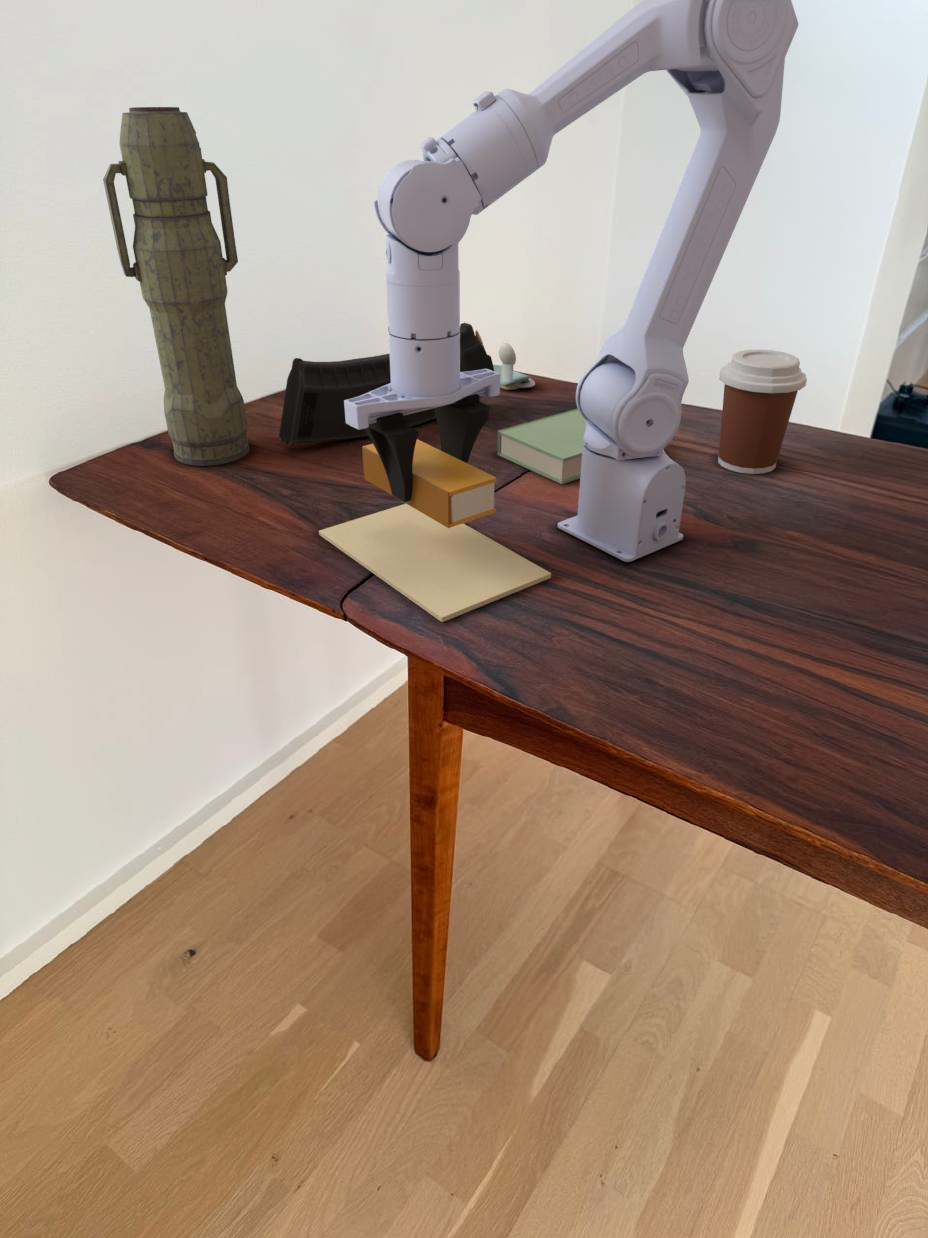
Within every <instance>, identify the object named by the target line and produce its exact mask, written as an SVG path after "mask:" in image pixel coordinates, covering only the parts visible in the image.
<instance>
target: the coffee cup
mask: <svg viewBox="0 0 928 1238" xmlns="http://www.w3.org/2000/svg"><path fill="white" fill-rule="evenodd" d="M800 365H801V361H800V359H799V358H798V357H797V356H796V355H793V354H791V353H788V352H784V351H779V350H773V349H745V350H739V351H737V352H735V353H733V354H732V356H731V361H730V362H728V363H727V364H726V365H724V366H723V367H721V368H720V370H719V375H718V376H719V378H718V380H719V381H721V382H722V383H723V385H724V387H723V399H722V412H721V424H720V435H719V449H718V456H717V463H718V464H719V465H720V466H721V467H722V468H724V469H726V470H729V471H732V472H736V473H741V474H748V475H757V474H758V475H759V474H766V473H770V472H772V471H773V470H775V469H776V466H777V462H778V458H779V455H780V452H781V449H782V446H783V442H784V438H785V436H786V433H787V428H788V425H789V422H790V419H791V415H792V412H793V409H794V405H795V403H796V402H795V401H796V398H797V395H798V392H799V391H801V390H802V389H804V388H805V387H806V386H807V382H808V378H807V374H806V373H805V372H803V371H802V369H801V368H800Z"/></svg>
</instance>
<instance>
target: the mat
mask: <svg viewBox="0 0 928 1238" xmlns="http://www.w3.org/2000/svg"><path fill="white" fill-rule="evenodd" d="M318 534H319V536H320V537H321V538H323V539H324V540H325V541H327V542H328V543H330V544H331V545H333V546H334V547H335V548H337V549H338V550H339V551H341V552H342V553H344V554H345V555H347V556H348V557H349V558H350V559H352V560H354V561H355V562H356V563H358V564H359V565H361V566H362V567H363V568H365V570H368V571H369V572H371V573H372V574H374V575H375V576H376V577H377V578H379V579H381V580H382V581H383V582H384V583H386V584H387V585H389V586H390V587H392V588H393V589H394V590H396V591H397V592H399V594H401V595H403V596H404V597H405V598H407V599H408V600H410V601H411V602H413V603H414V604H415V605H416V606H418V607H419V608H421V609H422V610H424V611H425V612H426V613H428V614H430V615H431V616H432V617H433V618H435V619H436V620H438V621H439V622H441V623H444V622H447V621H449V620H452V619H454V618H457V617H459V616H461V615H464V614H466V613H468V612H472V611H474V610H476V609H478V608H481V607H484V606H486V605H488V604H491V603H493V602H495V601H498V600H500V599H503V598H506V597H507V596H510V595H512V594H515V593H517V592H520V591H523V590H525V589H527V588H530V587H532V586H535V585H538V584H539V583H542V582H545V581H547V580H549V579H551V578H552V573H551V571H548V570H547V569H545V568H543V567H541V566H539V565H538V564H536V563H534V562H532V561H530V560H529V559H527V558H526V557H524V556H521V554H519V553H517V552H515V551H512V550H511V549H509V548H508V547H505V546H504V545H502V544H500V543H498V542H497V541H496V540H493V539H492V538H490V537H488V536H486V535H485V534H483V533H482V532H480V531H478V530H475V529H474V528H472V527H470V526H469V525H466V524H465V523H463V524H460V525H457V526H454V527H451V528H447V527H445V526H444V525H442V524H440V523H439V522H437V521H435V520H433V519H432V518H430V517H428V516H427V515H425V514H423V513H421V512H420V511H418V510H416V509H415V508H413V507H411V506H409V505H408V504H406V503H403V504H400V505H397V506H393V507H390V508H388V509H385V510H380V511H377V512H375V513H371V514H368V515H365V516H362V517H358V518H355V519H352V520H348V521H346V522H343V523H339V524H336V525H333V526H330V527H326V528H323V529H319V530H318Z"/></svg>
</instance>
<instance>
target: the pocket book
mask: <svg viewBox="0 0 928 1238" xmlns="http://www.w3.org/2000/svg"><path fill="white" fill-rule="evenodd" d="M361 449H362V450H361V451H362V465H363V479H364V480H365V481H367V482H368V483H370V484H372V485H374V486H375V487H376V488H379V489H380V490H382V491H384V492H386V493H387V494H389V495H390V496H392V497H394V498H396V497H395V496H393V495H392V492H391V488H390V484H389V481H388V477H387V474H386V471H385V469H384V466H383V463H382V461H381V459H380V456H379V454H378V452H377V450H376V448H375V446H374V444H373V443H370V444H366V445H362V446H361ZM412 474H413V489H412V497H411V500H410V501H407V502H403V501H402V500H400V499H398V500H399V501H400V502H403V504H408V505H409V506H411V507H413V508H415V509H416V510H418V511H420V512H421V513H423V514H425V515H427V516H428V517H430V518H432V519H433V520H435V521H437V522H439V523H440V524H442V525H444V526H445V527H447V528H451V527H454V526H457V525H460V524H465V523H468V522H471V521H474V520H477V519H481V518H483V517H486V516H489V515H492V514H495V513H496V511H497V509H496V507H495V483H496V482H497V477H496V476H493V475H491V474H490V473H488V472H486V471H484V470H482V469H479V468H478V467H475V466H474V465H471V464H469V463H465V462H463V461H461V460H459V459H457V458H455V457H453V456H451V455H449V454H447V453H445V452H443V451H441V449H438V448H437V447H434V446H432V445H431V444H428V443H426V442H424V441H422V440H420V439H418V438H417V440H416V445H415V449H414V456H413V465H412Z"/></svg>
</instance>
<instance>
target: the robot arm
mask: <svg viewBox="0 0 928 1238" xmlns="http://www.w3.org/2000/svg"><path fill="white" fill-rule="evenodd" d="M798 27H799V21H798V17H797V14H796V11H795V8H794V5H793V1H792V0H641V1H639V3H637V4H636V5H635V6H634V7H632V8H631V9H630V10H628V11H627V12H626V13H624V14H623V15H622V16H621V17H620V18H619V19H618V20H616V21H615V22H614V23H612V25H610V26H609V27H608V28H607V29H606V30H604V31H603V32H602V33H600V34H599V35H598V36H597V37H595V38H594V39H593V40H592V41H591V42H589V43H588V44H587V45H586V46H584V48H583V49H581V50H580V51H578V52H577V54H575V55H574V56H572V58H570V59H568V61H567V62H565V63H564V64H563V65H562V66H560V68H558V69H557V70H556V71H555V72H553V73H552V74H551V75H550V76H549V77H548V78H546V79H545V80H544V81H542V82H541V83H540V84H539V85H537V87H535V88H534V89H533V90H532V91H531V92H529V93H528V94H527V93H523V92H520V91H517V90H515V89H510V88H504V89H502V90H500V92H498V93H496V94H494V92H492V91H483V92H482V93H481V94H479V95H478V96H477V97H475V98H474V99H473V100H472V105H473V107H474V109H475V110H474V112H471V114H469V115H468V116H466V117H465V118H463V120H461V121H459V123H457V124H456V125H454V126H453V127H452V128H451V129H449V130H448V131H447V132H445V133H444V134H443V135H442V136H441V137H440V138H438V139H435V138H434V137H431V136H429V137H427V138H425V139H424V141H422V142H421V143H420V144H419V148H420V150H421V153H422V157H423V159H422V160H420V159H407V160H404V161H401V162H399V163H397V164H396V165H394V166H393V167H391V168H390V169H389V170H388V171H387V173H386V174H385V175H384V176H383V178H382V183H381V185H379V188H378V192H377V199H376V200H374V202H373V205H374V210H375V214H376V217H377V220H378V222H379V224H380V226H381V227H382V229H383V230H384V231H385V232H386V233H387V234H386V235H385V245H386V247H385V257H386V270H385V289H386V305H387V306H386V312H387V330H388V351H389V353H388V354H390V376H391V383H389V384H387V385H384V386H382V387H380V388H377V389H375V390H373V391H370V392H368V393H366V394H363V395H361V396H358V397H355V398H351V399H347V400H344V407H345V420H346V424H348V425H350V426H352V427H354V428H356V429H358V430H361V429H364V430H365V431H366V433H367V434H368V438H369V439H370V441H371V444H374V446H375V448H376V450H377V452H378V454H379V456H380V459H381V461H382V463H383V466H384V469H385V471H386V474H387V477H388V481H389V484H390V488H391V492H392V495H393V496H392V495H391V496H392V497H394V496H395V497H394V498H395V499H398V500H399V499H400V500H399V501H401V500H402V501H401V502H402V503H404V502H407V501H410V500H411V497H412V489H413V474H412V465H413V456H414V449H415V445H416V440H417V439H418V437H419V433H420V431H419V430H417V429H415V428H413V427H409V426H407V421H406V420H405V421H404V420H403V416H404V415H408V414H412V413H416V412H420V411H424V410H428V409H433V408H434V410H435V414H436V424H437V428H438V433H439V434H438V435H439V442H440V444H439V445H440V450H441V451H443V452H445V453H447V454H449V455H451V456H453V457H455V458H457V459H459V460H461V461H463V462H465V463H467V464H469V460H470V456H471V453H472V450H473V447H474V445H475V443H476V440H477V438H478V436H479V434H480V433H481V430H482V429H483V427H484V426H485V424H486V422H487V421H488V420H489V418H490V406H489V405H488V404H486V403H484V402H481V400H480V399H481V398H483V397H485V396H486V397H488V398H493V397H494V398H495V397H498V396H500V395H501V387H500V373H497V372H494V371H492V370H489V369H481V370H475V371H467V372H460V324H461V278H460V277H461V273H460V268H459V244H460V242H461V241H462V239H463V238H464V236H465V235H466V232H467V231H468V228H469V226H470V222H471V218H472V215H474V216H477V215H479V214H480V213H482V212H483V211H484V210H486V209H487V208H488V207H490V206H491V205H492V204H494V203H495V202H496V201H498V200H499V199H500V198H502V197H504V195H506V194H507V193H508V192H510V191H511V190H513V189H514V188H515V187H516V186H518V185H519V184H521V183H522V182H523V181H524V180H526V179H527V178H528V177H530V176H531V175H532V174H534V173H535V172H537V170H539V169H541V168H542V167H543V166H544V165H545V164H546V163H547V160H548V158H549V154H550V149H551V145H552V141H553V139H554V137H555V135H556V134H558V133H559V132H561V131H562V130H564V129H565V128H566V127H568V126H570V125H571V124H572V123H574V122H576V121H577V120H578V119H580V118H581V117H583V116H584V115H585V114H587V113H588V112H590V111H592V110H594V108H596V107H597V106H599V105H600V104H602V103H603V102H605V101H606V100H608V99H609V98H610V97H612V96H613V95H615V94H616V93H618V92H619V91H621V90H622V89H623V88H625V87H627V86H628V85H629V84H631V83H632V82H634V81H635V80H637V79H638V78H640V77H641V76H642V75H645V74H646V73H649V72H657V71H658V72H659V71H666V72H667V73H668V74H669V76H670V77H671V78H672V79H673V80H674V82H675V84H677V86H678V87H679V88H680V89H681V90H682V91H683V93H684V94H685V95H686V97H687V98H688V100H689V102H690V105H691V108H692V110H693V113H694V116H695V119H696V121H697V124H698V126H699V128H700V129H699V130H700V133H699V136H698V138H697V141H696V143H695V145H694V149H693V151H692V153H691V156H690V159H689V161H688V164H687V166H686V168H685V171H684V174H683V176H682V179H681V181H680V184H679V186H678V189H677V191H676V194H675V197H674V198H673V201H672V204H671V207H670V209H669V212H668V214H667V217H666V219H665V222H664V224H663V227H662V229H661V231H660V235H659V237H658V240H657V243H656V245H655V247H654V249H653V252H652V255H651V257H650V260H649V263H648V264H647V267H646V270H645V273H644V275H643V277H642V279H641V283H640V286H639V287H638V291H637V293H636V295H635V298H634V300H633V302H632V305H631V307H630V311H629V313H628V315H627V318H626V321H625V323H624V325H623V327H622V328H620V329H619V330H618V331H616V332H615V333H613V334H612V335H611V336H610V337H608V339H606V340H605V341H604V342H603V344H602V347H601V349H600V352H599V354H598V356H597V357H596V359H595V361H594V362H593V363H592V364H591V365H590V366H589V367H588V368H587V369H586V370H585V371H584V373H583V374H582V375H581V377H580V379H579V380H578V383H577V385H576V390H575V404H576V409H577V408H578V410H579V412H580V414H581V415H582V417H584V418H585V419H586V429H585V433H584V437H583V450H582V463H581V476H580V479H579V488H578V489H579V490H578V502H577V503H578V504H577V515H574V516H573V517H572V516H571V517H569V518H567V519H564V520H561V521H558V523H557V526H556V527H557V529H560V530H561V531H563V532H565V533H567V534H569V535H571V536H573V537H575V538H577V539H579V540H581V541H582V542H585V543H587V544H588V545H591V546H593V547H595V548H597V549H598V550H601V551H603V552H605V553H606V554H608V555H610V556H613V557H614V558H616V559H618V560H620V561H622V562H624V563H631V562H634V561H636V560H638V559H641V558H643V557H645V556H648V555H650V554H653V553H655V552H657V551H659V550H661V549H664V548H666V547H669V546H671V545H674V544H676V543H678V542H680V541H682V540H683V539H684V534H683V533H681V532H680V527H681V520H682V513H683V508H684V501H685V493H686V487H687V477H686V473H685V469H684V467H682V466H681V465H680V464H679V463H677V462H676V461H674V460H673V459H672V458H670V456H669V455H668V454H667V453H666V451H665V450H664V449H665V448H666V447H667V446H668V445H669V444H670V443H671V441H672V440H673V439H674V438H675V437H676V435H677V432H678V430H679V428H680V424H681V421H682V403H683V397H684V395H685V392H686V389H687V386H688V384H689V381H690V380H689V373H688V370H687V365H686V364H687V363H686V361H685V356H684V347H685V345H686V342H687V341H688V337H689V335H690V333H691V330H692V328H693V326H694V324H695V321H696V319H697V317H698V315H699V313H700V310H701V308H702V305H703V303H704V301H705V298H706V296H707V294H708V291H709V289H710V287H711V284H712V282H713V280H714V277H715V275H716V273H717V271H718V269H719V266H720V263H721V261H722V259H723V256H724V255H725V252H726V249H727V247H728V245H729V243H730V240H731V238H732V236H733V234H734V231H735V229H736V227H737V224H738V221H739V220H740V217H741V214H742V213H743V211H744V208H745V206H746V203H747V201H748V198H749V196H750V194H751V192H752V189H753V187H754V185H755V182H756V179H757V177H758V175H759V174H760V173H759V172H760V170H761V168H762V166H763V164H764V161H765V159H766V157H767V154H768V153H769V149H770V147H771V145H772V143H773V141H774V139H775V135H776V133H777V131H778V127H779V124H780V121H781V111H782V102H783V101H782V98H783V88H784V75H785V64H786V63H785V62H786V56H787V54H788V52H789V49H790V47H791V45H792V42H793V39H794V38H795V35H796V34H797V30H798ZM482 396H483V397H482ZM480 397H481V398H480Z"/></svg>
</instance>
